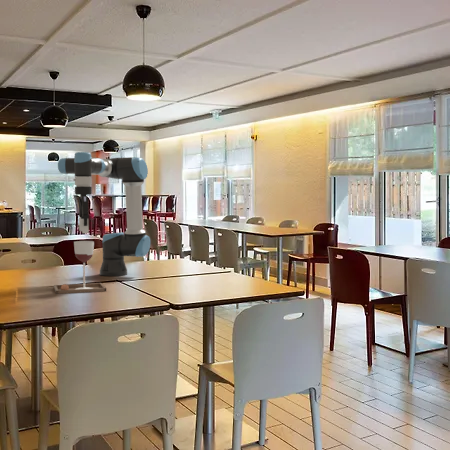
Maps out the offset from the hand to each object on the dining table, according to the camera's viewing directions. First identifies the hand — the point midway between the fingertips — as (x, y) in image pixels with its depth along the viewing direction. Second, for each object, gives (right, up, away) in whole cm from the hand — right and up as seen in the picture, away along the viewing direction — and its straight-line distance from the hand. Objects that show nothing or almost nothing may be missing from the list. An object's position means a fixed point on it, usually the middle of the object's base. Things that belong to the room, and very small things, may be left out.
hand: (83, 232), depth 266 cm
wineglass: (0, -27, +2) cm, 27 cm away
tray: (-2, -27, 0) cm, 27 cm away
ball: (-7, -27, -7) cm, 28 cm away
